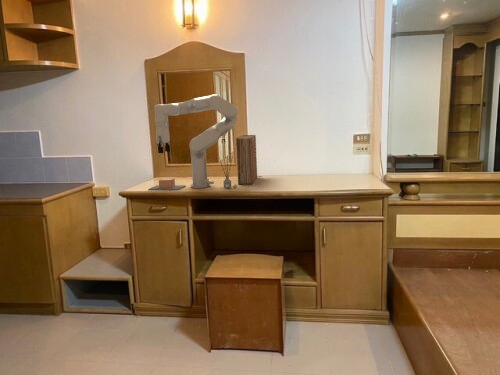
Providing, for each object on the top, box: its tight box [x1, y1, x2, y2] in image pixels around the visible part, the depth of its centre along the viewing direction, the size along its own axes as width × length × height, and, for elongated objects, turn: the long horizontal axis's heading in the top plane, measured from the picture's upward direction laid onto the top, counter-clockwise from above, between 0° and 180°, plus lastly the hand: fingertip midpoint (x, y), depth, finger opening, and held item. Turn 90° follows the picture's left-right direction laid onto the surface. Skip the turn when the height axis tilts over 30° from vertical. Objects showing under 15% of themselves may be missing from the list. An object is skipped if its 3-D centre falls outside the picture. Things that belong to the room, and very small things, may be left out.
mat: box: [148, 184, 186, 191], centre depth 248 cm, size 20×12×1 cm, turn 77°
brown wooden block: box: [235, 134, 258, 186], centre depth 259 cm, size 25×9×30 cm, turn 171°
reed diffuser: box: [218, 155, 238, 189], centre depth 240 cm, size 10×7×20 cm
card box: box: [158, 178, 176, 188], centre depth 248 cm, size 6×8×5 cm, turn 81°
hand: (164, 152), depth 244 cm, fingers open, 9 cm apart
